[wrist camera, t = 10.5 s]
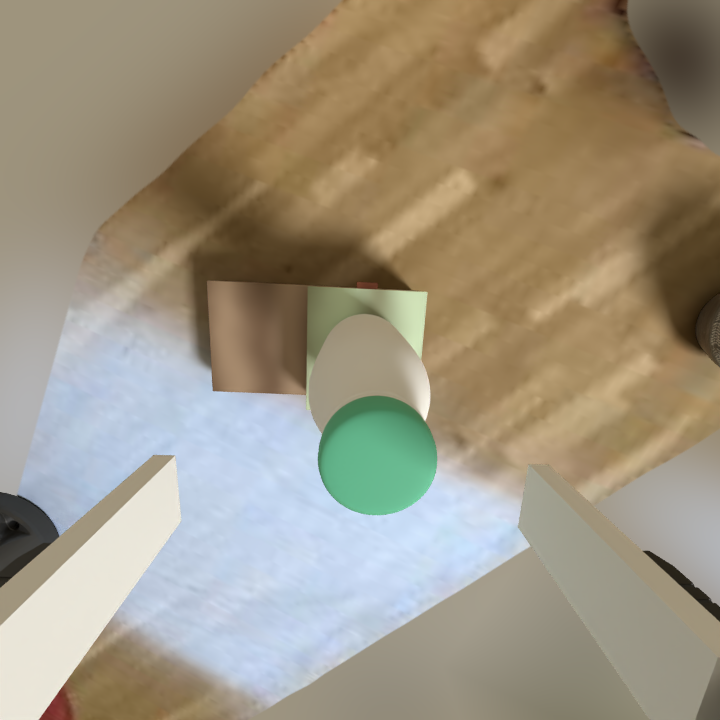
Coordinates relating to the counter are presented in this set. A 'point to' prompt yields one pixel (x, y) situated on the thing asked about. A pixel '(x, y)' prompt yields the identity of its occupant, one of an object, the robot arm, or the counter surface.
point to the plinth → (293, 329)
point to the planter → (710, 329)
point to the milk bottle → (372, 417)
